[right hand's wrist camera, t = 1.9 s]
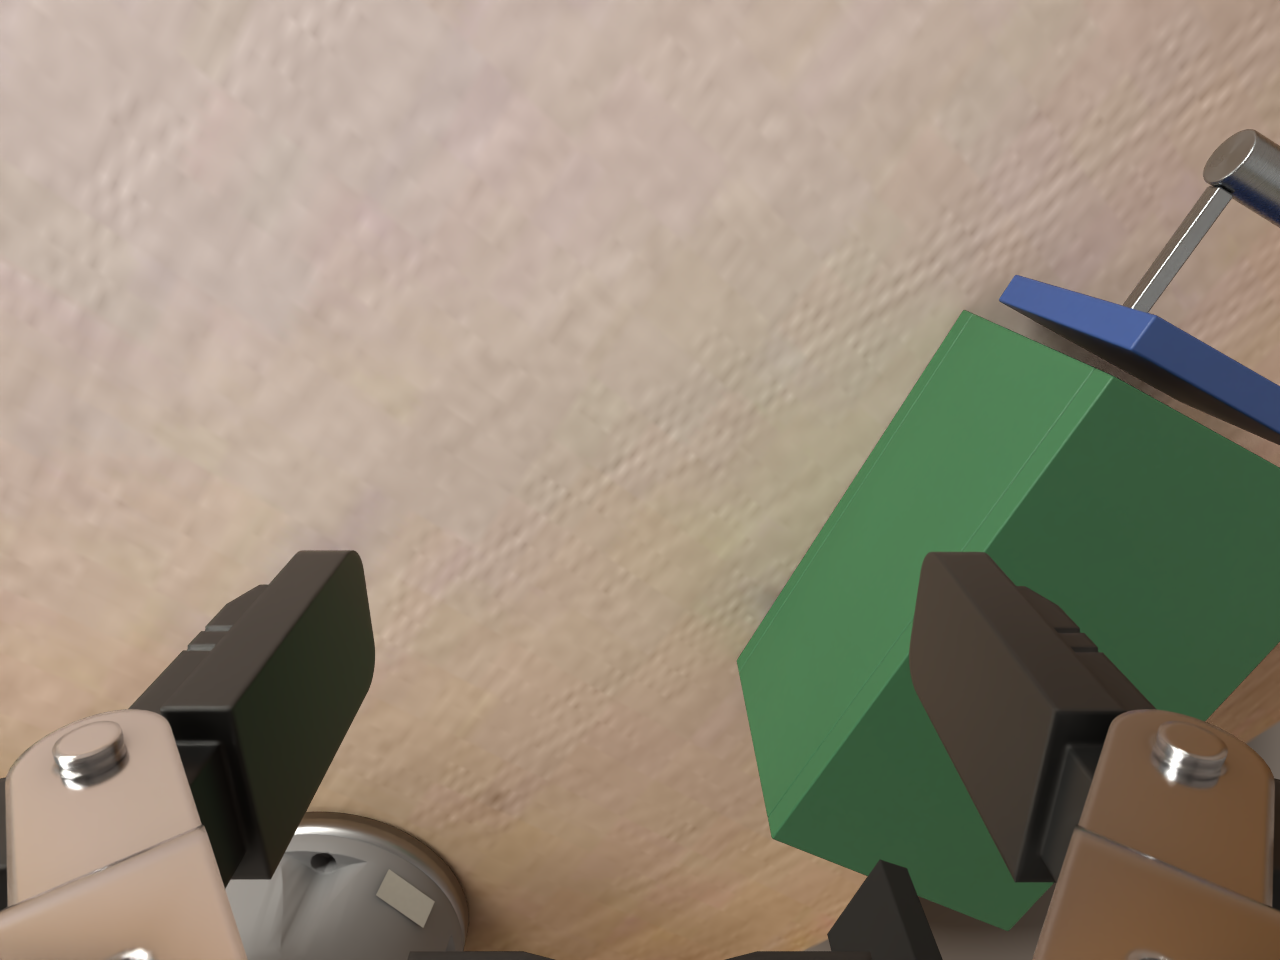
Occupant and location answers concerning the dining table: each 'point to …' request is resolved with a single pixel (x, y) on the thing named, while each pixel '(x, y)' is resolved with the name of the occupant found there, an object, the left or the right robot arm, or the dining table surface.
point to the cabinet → (1030, 556)
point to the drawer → (1144, 341)
